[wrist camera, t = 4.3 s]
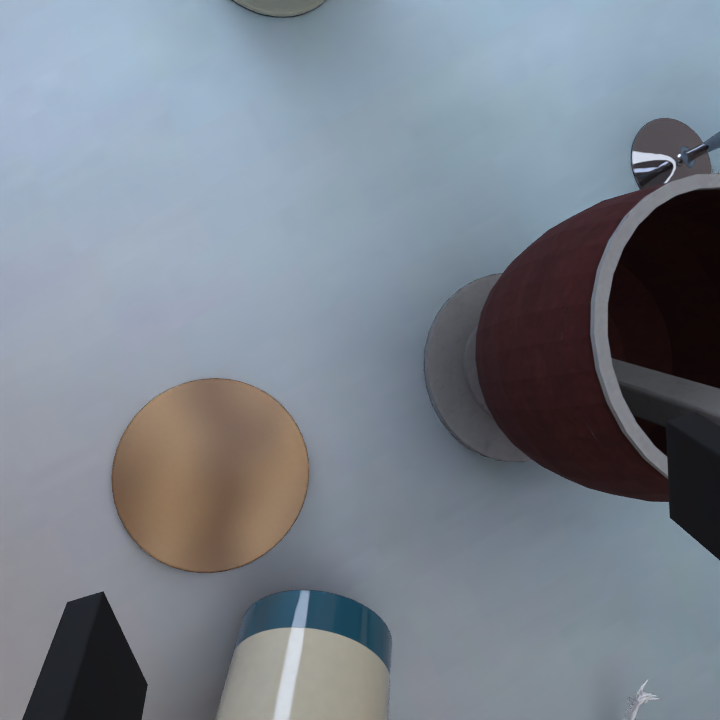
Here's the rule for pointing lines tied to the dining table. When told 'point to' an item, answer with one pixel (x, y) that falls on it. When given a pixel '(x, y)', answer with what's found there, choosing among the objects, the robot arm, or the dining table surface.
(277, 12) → the can
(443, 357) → the mate gourd
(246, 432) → the coaster
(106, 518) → the dining table surface
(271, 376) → the dining table surface
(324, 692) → the jar
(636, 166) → the wine glass
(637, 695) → the winged dragon toy
